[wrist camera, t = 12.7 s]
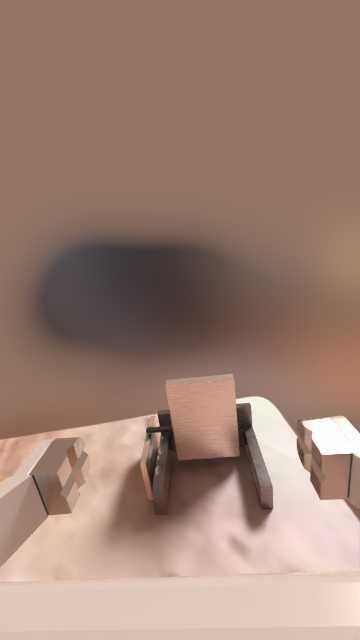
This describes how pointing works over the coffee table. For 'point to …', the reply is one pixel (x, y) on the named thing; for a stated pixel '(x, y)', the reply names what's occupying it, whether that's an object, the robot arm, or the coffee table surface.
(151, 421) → the gauge housing
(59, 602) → the robot arm
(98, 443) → the coffee table surface
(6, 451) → the coffee table surface
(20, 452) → the coffee table surface
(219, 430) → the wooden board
